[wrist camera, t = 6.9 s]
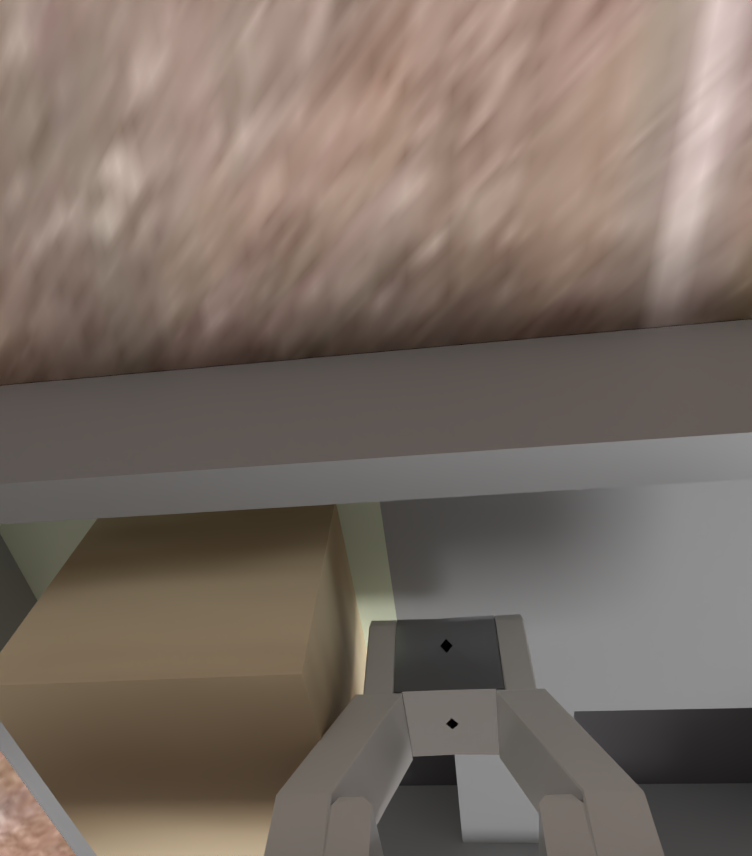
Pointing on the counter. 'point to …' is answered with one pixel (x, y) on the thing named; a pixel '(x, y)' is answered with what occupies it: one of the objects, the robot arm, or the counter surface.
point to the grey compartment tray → (462, 536)
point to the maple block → (185, 674)
